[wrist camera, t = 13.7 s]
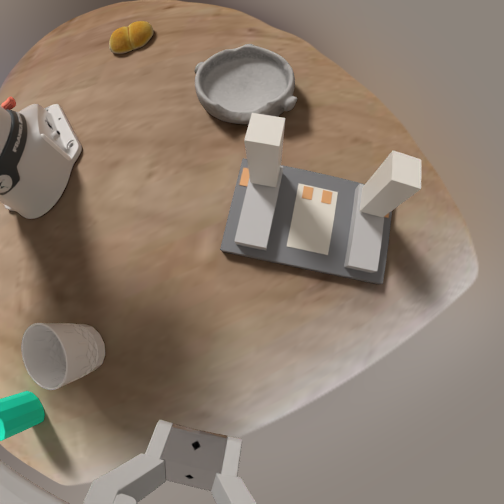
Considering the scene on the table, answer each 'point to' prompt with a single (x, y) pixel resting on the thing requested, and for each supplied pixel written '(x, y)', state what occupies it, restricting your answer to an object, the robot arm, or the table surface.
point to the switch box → (307, 225)
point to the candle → (19, 413)
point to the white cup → (61, 352)
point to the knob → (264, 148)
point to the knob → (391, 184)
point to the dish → (245, 84)
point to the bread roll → (130, 37)
